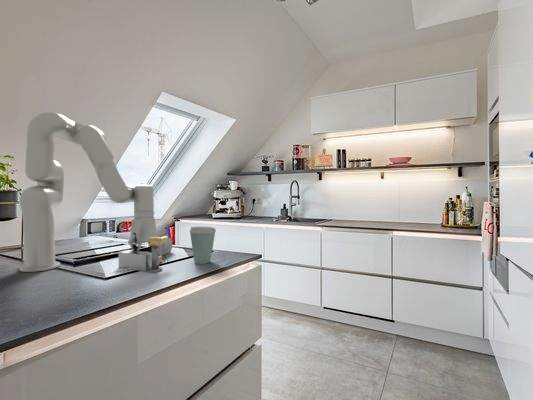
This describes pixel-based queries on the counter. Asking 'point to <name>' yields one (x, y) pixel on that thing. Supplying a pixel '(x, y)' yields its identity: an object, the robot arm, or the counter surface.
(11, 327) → the counter surface
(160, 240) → the key
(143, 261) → the housing
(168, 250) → the tin
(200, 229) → the disposable coffee cup
